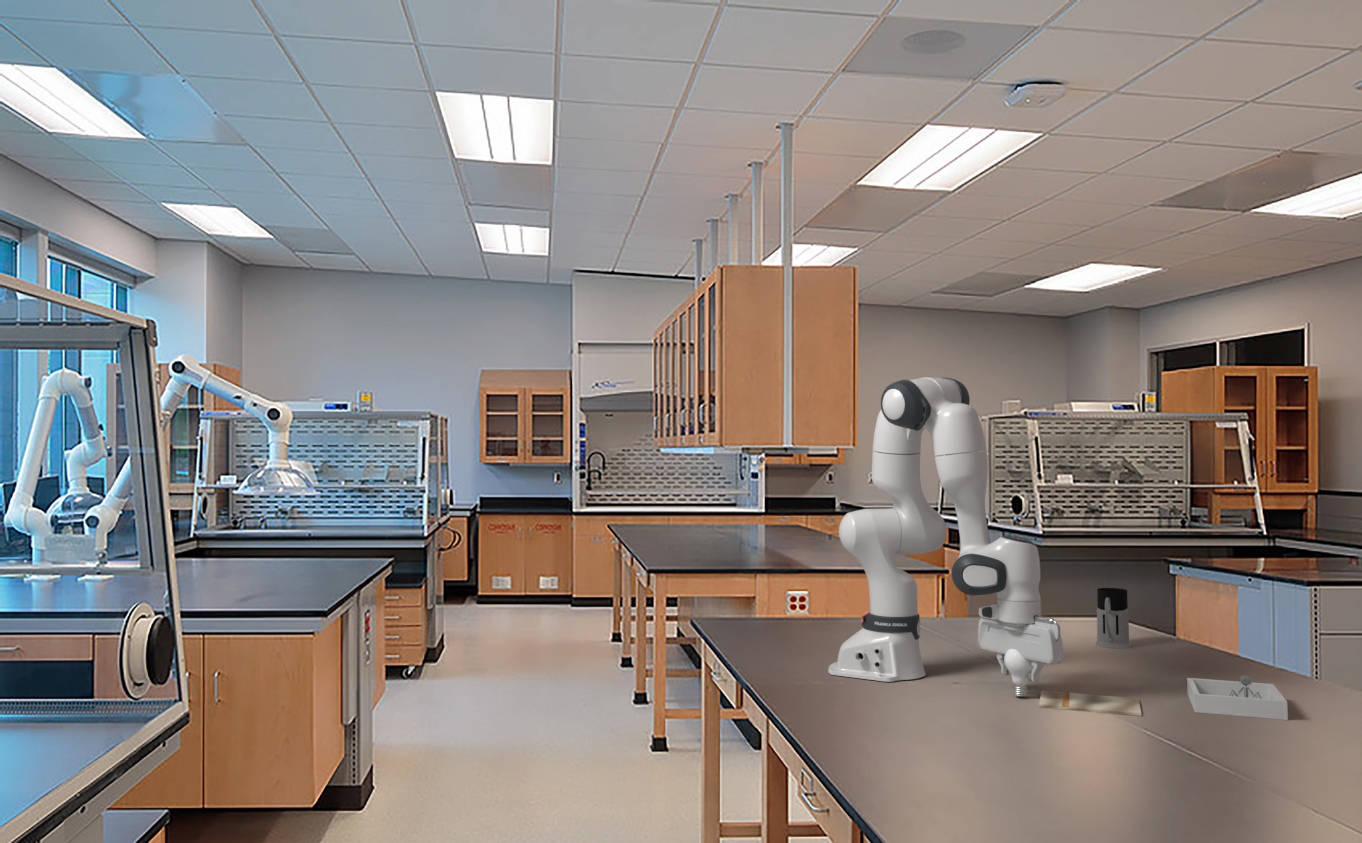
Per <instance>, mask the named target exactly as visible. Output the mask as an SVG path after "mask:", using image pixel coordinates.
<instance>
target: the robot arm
mask: <svg viewBox="0 0 1362 843" xmlns="http://www.w3.org/2000/svg"><path fill="white" fill-rule="evenodd" d="M970 400H971V399H970V395H969V391H968V389H967V387H966V386H965V384H963V383H962V382H961V381H959V380H957V379H956V378H955V379H954V378H951V377H935V376H934V377H933V376H932V377H930V376H927V377H921V378H914V379H913V378H912V379H900V380H897V381H895V382H892V383H891V384H889V385H888V386H886V387H885V389H884V390H883V392H882V394H881V396H880V408H881V409H880V411H879V412H878V414H877V416H876V417H877V418H876V422H875V427H874V431H873V432H874V433H873V438H872V439H873V440H872V454H871V455H872V458H871V477H870V478H871V481H872V484H873V485H874V488H876V489H877V490H879V491H880V492H882V493H884V494H885V495H888V496H890V497H891V498H892V503H893V504H892V507H891V508H890V507H887V508H862V509H858V510H855V511H849V512H847V513H846V514H844V516H843V517H842V519H841V521H840V524H839V527H838V536H839V541H840V543H841V545H842V547H843V548H844V549H845V550H846V551H847V552H848V553H849V554H851V555H853V557H854V558H855V559H856V560H857V561H858V562H859V564H860V565H861V566H862V570H864V572H865V575H866V579H867V583H868V593H869V594H868V595H869V610H868V611H865V612H864V613H863V614H862V616H861V618H860V620H861V621H860V623H861V627H862V628H861V629H859V630H858V631H857V632H855V633H854V634H853V635H851V636H850V637H849V638H848V639H846V640H845V641H844V642H843V643H842V644H841V646H840V648H839V650H838V655H837V661H835V662H833V663H831V664H830V665H829V666H828V668H827V671H828V674H829V675H832V676H838V677H845V678H846V677H847V678H852V679H853V678H854V679H862V680H872V681H879V682H883V683H885V682H887V683H893V682H897V681H904V680H905V681H907V680H909V681H910V680H917V679H920V678H922V677H923V678H924V677H925V676H926V671H925V667H924V664H923V659H922V655H921V646H920V638H921V619H920V614H919V613H918V610H919V609H918V584H917V582H916V580H915V578H914V577H913V576H912V575H911V574H909V573H908V572H906V571H905V570H902V569H901V568H898V567H897V566H896V564H895V561H894V560H895V559H894V556H895V555H922V554H927V553H930V552H931V553H932V552H935V551H938V550H940V549H941V548H942V546H943V545H944V544H945V541H946V538H947V526H946V522H945V519H944V518H943V516H941V514H940V513H939V512H938V511H936V509H934V507H932V505H930V503H929V502H928V501H927V499H926V497H925V494H924V493H923V489H922V485H921V449H922V448H921V447H922V446H921V445H922V435H923V432H924V430H926V431H927V432H929V434H930V436H931V439H932V442H933V452H934V453H933V454H934V460H935V461H934V462H935V467H936V471H937V476H938V478H939V481H940V485H941V487H942V488H943V490H944V491H945V493H946V494H947V495H948V496H949V498H950V499H951V501H952V504H953V506H954V509H955V514H956V518H957V526H958V534H959V540H960V551H959V554H958V557H957V558H956V560H955V561H954V563H953V565H952V568H951V579H952V582H953V584H954V586H955V587H956V588H957V589H958V591H960V592H961V593H963V594H965V595H968V596H970V597H971V596H972V597H982V596H986V595H991V594H996V602H995V603H993V604H987V605H984V606H981V607H979V608H978V616H979V617H981V618H979V620H978V624H977V625H978V626H977V643H978V645H979V648H980V649H981V650H983V651H989V652H992V653H996V659H997V661H998V663H999V665H1000V668H1001V670H1000V672H1001V675H1004V676H1009V677H1010V676H1011V674H1010V672H1009V671H1008V669H1007V668H1006V666H1005V662H1004V657H1005V653H1006V652H1007V651H1008V650H1009V649H1015V650H1017V651H1018V652H1019V653H1020V654H1021V656H1022V657H1023V658H1024V659H1028V660H1032V666H1034V667H1033V669H1032V672H1029V673H1028V682H1031V683H1038V682H1040V673H1041V671H1042V670H1043V668H1044V665H1045V664H1047V665H1057V664H1061V663H1062V662H1063V660H1064V656H1065V655H1064V646H1063V639H1062V635H1061V626H1060V624H1059V623H1058V622H1057V621H1056V620H1055V619H1054V618H1052V617H1045V616H1042V601H1041V600H1042V598H1041V594H1040V591H1039V588H1040V582H1041V562H1040V555H1039V550H1038V547H1037V545H1036V544H1035V543H1034V542H1032V540H1030V539H1028V538H1024V537H1020V536H1015V535H1001V536H1000V537H999V538H997V539H996V540H994V541H992V542H991V541H990V536H989V535H990V534H989V528H988V520H987V514H986V508H985V507H986V506H985V503H986V493H987V484H988V475H989V474H988V473H989V462H988V452H987V445H986V440H985V439H986V438H985V435H984V434H985V433H984V431H983V427H982V423H981V420H980V417H979V414H978V412H977V410H976V409H975V408H974V407H973V406H971V405H970Z"/></svg>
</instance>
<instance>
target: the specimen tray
mask: <svg viewBox="0 0 1362 843" xmlns="http://www.w3.org/2000/svg"><path fill="white" fill-rule="evenodd" d="M1186 681H1187V682H1186V684H1187V687H1186V688H1187V691H1186V692H1187V697H1188V699H1189V701H1190V703H1191V706H1192V708H1193V711H1194V713H1197V714H1198V713H1199V714H1210V715H1225V716H1235V717H1245V718H1246V717H1248V718H1258V719H1260V718H1261V719H1273V720H1281V721H1282V720H1285V721H1288V720H1289V718H1288V717H1289V714H1288V701H1287V699H1286V698H1285V697H1284V696H1283V694H1282V693H1281V692H1280V691H1279V690H1278V688H1277V687H1276V686H1275V684H1274V683H1262V682H1252V681H1251V683H1252V684H1250V685H1247V687H1248V688H1249V689H1250V690H1251V691H1252V693H1253V694H1252V693H1251V691H1250V690H1249V689H1248V698H1246V697H1244V688H1243V687H1245V685H1243V684H1241V681H1238V680H1237V681H1236V680H1235V681H1234V680H1222V679H1208V678H1197V677H1195V678H1194V677H1187V678H1186ZM1242 689H1243V690H1242ZM1232 690H1234V691H1232ZM1240 690H1242V691H1241V693H1240V692H1239V691H1240ZM1231 692H1232V693H1231ZM1238 692H1239V693H1240V694H1239V693H1238ZM1257 692H1259V694H1258V693H1257ZM1233 693H1236V694H1237V695H1238V694H1239V695H1238V697H1237V696H1236V695H1235V694H1233ZM1230 694H1231V696H1230ZM1256 694H1257V695H1256ZM1232 695H1233V696H1232ZM1255 695H1256V696H1255ZM1258 695H1260V696H1258ZM1254 696H1255V697H1254ZM1257 696H1258V697H1257ZM1253 697H1254V698H1253ZM1256 697H1257V698H1256ZM1260 697H1261V698H1260Z"/></svg>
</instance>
